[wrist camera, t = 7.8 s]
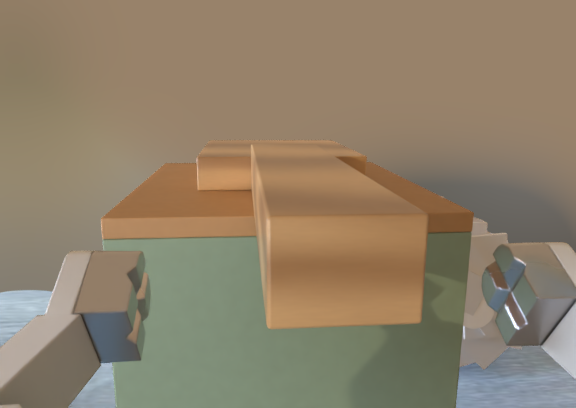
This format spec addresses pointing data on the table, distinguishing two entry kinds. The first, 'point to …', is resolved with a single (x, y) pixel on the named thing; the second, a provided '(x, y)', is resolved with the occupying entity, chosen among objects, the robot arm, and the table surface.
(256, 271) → the plinth
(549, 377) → the table surface
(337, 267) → the paddle
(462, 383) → the table surface
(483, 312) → the spiral staircase
